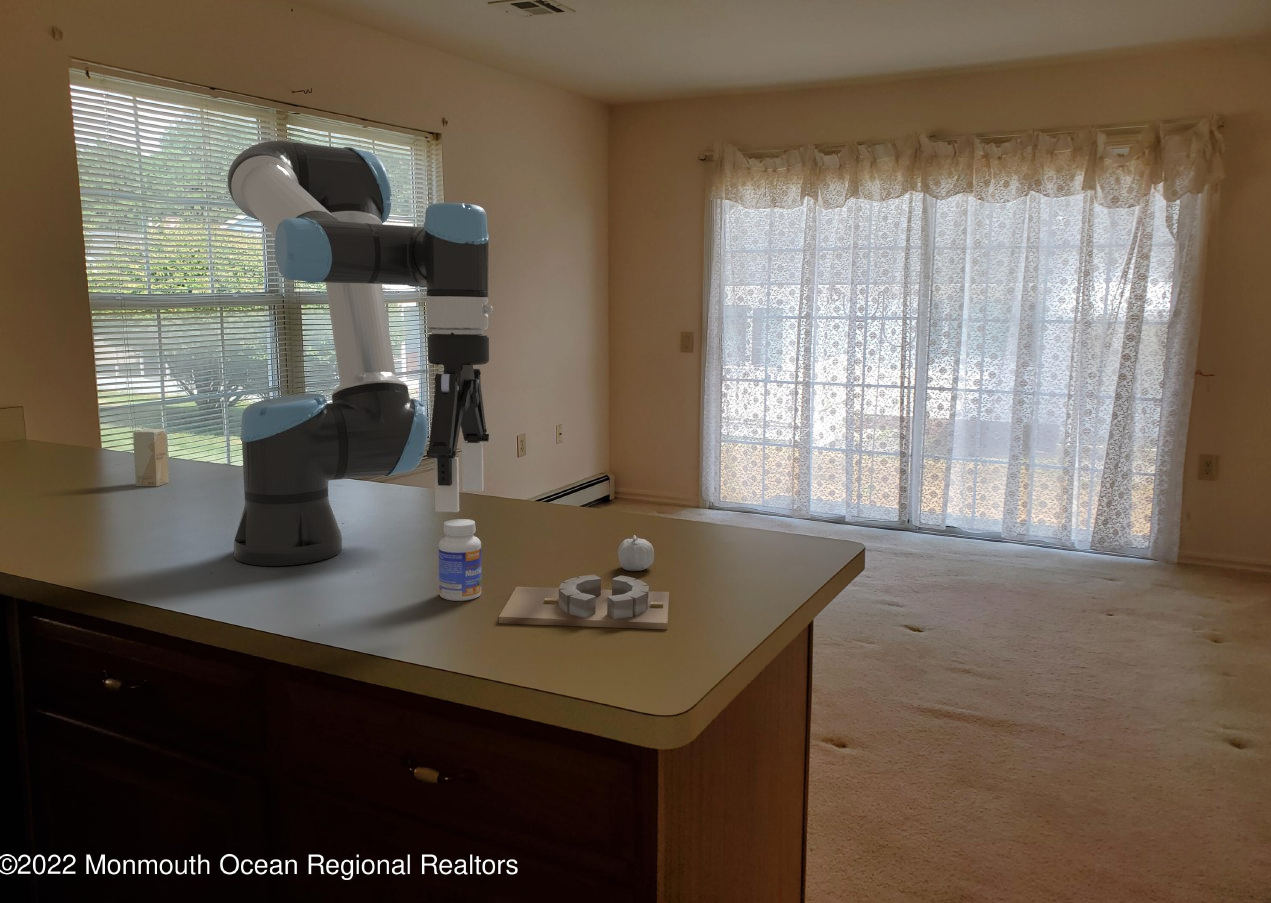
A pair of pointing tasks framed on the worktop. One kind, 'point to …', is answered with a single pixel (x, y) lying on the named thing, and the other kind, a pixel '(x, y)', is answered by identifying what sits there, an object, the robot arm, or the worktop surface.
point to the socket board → (555, 616)
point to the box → (150, 457)
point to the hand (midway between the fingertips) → (460, 500)
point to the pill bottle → (459, 561)
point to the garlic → (635, 554)
